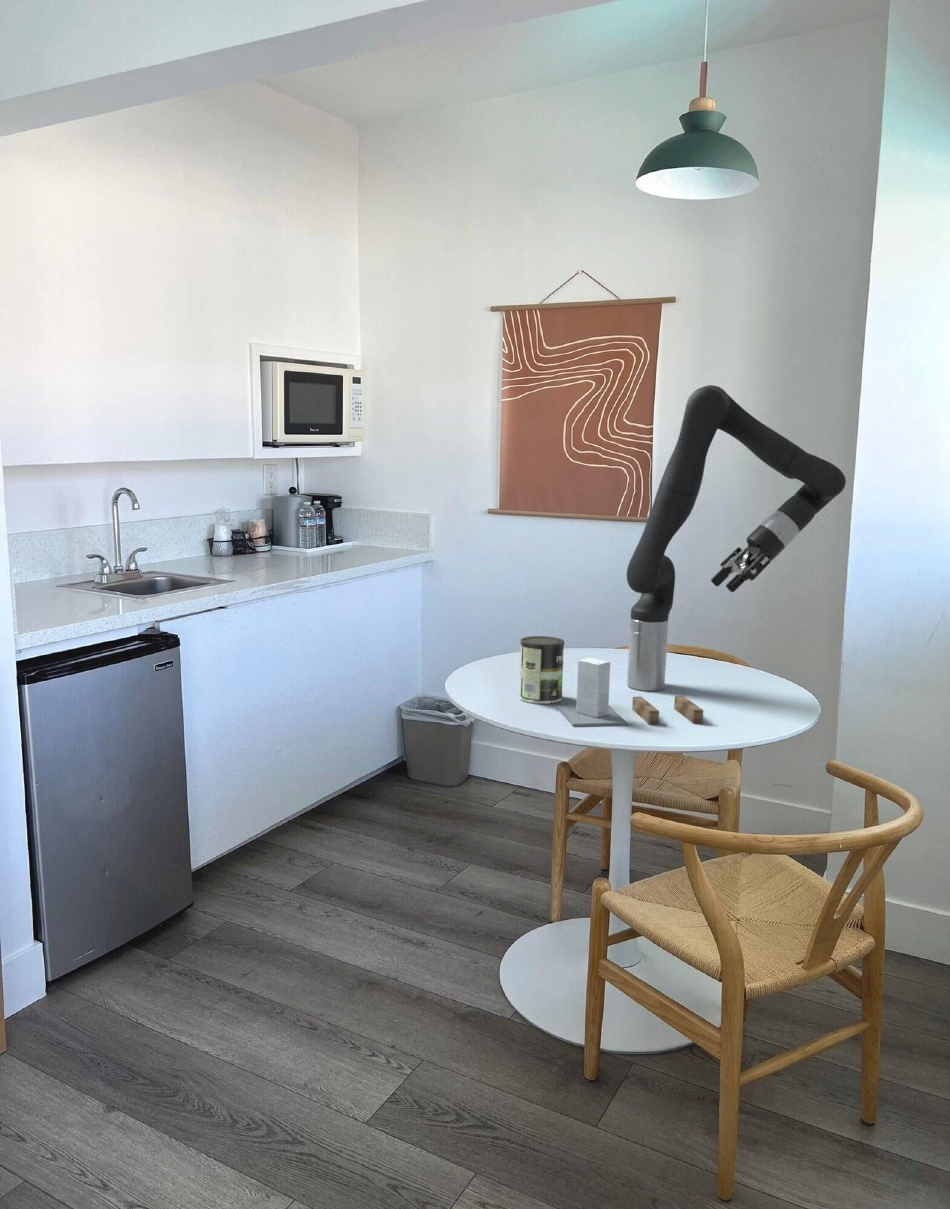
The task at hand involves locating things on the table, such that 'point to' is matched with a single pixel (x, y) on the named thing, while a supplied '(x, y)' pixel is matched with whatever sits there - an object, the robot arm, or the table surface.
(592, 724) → the mat
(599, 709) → the skincare box
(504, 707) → the table surface
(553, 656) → the coffee can
